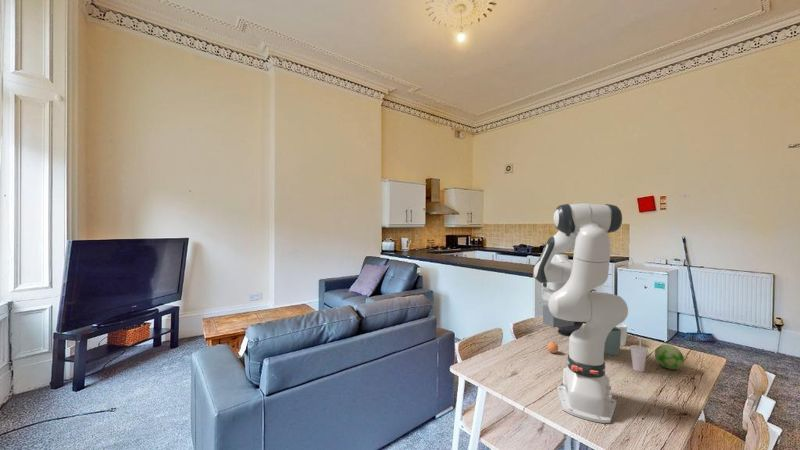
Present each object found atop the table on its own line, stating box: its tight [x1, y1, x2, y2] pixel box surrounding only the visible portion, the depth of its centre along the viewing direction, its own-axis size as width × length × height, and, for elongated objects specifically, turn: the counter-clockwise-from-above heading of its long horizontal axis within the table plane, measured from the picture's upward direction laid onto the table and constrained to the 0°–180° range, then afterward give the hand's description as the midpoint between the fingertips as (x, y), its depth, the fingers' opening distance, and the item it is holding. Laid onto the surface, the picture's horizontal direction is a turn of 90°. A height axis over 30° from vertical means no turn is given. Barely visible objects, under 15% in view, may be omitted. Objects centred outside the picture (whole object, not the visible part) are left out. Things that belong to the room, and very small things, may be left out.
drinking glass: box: [604, 327, 621, 356], centre depth 155 cm, size 10×10×12 cm
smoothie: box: [629, 337, 649, 373], centre depth 136 cm, size 6×6×14 cm
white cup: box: [615, 322, 628, 347], centre depth 165 cm, size 8×8×10 cm
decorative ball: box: [654, 344, 685, 370], centre depth 138 cm, size 10×10×10 cm
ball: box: [546, 341, 559, 354], centre depth 154 cm, size 5×5×5 cm
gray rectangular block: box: [542, 304, 574, 329], centre depth 154 cm, size 12×7×9 cm, turn 104°
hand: (558, 313), depth 154 cm, fingers closed on gray rectangular block, 7 cm apart
